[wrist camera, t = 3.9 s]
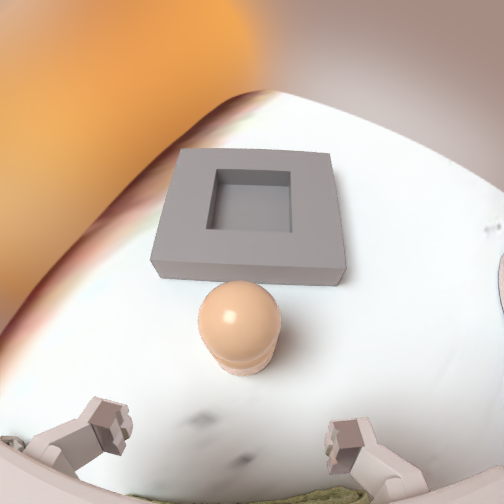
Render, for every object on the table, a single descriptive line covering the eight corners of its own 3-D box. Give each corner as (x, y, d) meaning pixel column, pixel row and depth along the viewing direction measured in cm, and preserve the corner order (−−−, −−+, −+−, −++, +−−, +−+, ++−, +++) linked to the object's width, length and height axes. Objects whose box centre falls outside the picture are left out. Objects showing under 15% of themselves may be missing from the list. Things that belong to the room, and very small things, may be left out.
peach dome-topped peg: (274, 318, 22) (285, 267, 15) (272, 377, 20) (284, 356, 13) (215, 315, 22) (196, 263, 15) (209, 373, 20) (184, 349, 13)
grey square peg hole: (324, 175, 29) (329, 153, 27) (336, 286, 23) (346, 268, 21) (186, 170, 30) (181, 149, 27) (160, 277, 24) (149, 259, 21)
